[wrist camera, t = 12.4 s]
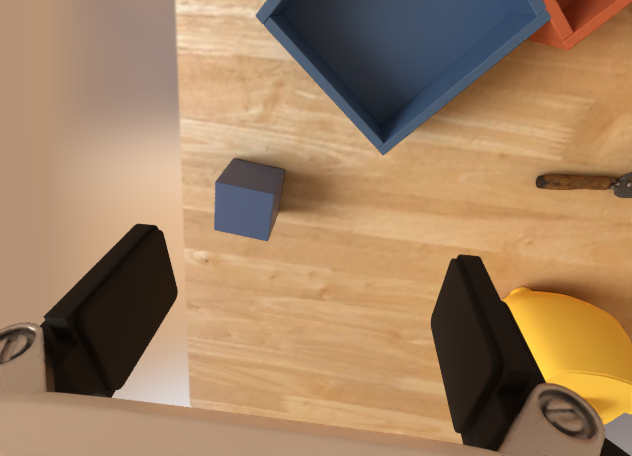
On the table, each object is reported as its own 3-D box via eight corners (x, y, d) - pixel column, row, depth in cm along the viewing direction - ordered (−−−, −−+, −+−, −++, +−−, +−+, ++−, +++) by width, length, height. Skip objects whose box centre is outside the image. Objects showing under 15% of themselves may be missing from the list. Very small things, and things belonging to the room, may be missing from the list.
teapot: (421, 330, 38) (440, 429, 30) (466, 257, 32) (508, 355, 23) (571, 364, 39) (633, 471, 30) (644, 299, 33) (749, 410, 24)
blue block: (233, 157, 29) (215, 181, 25) (285, 169, 29) (274, 194, 25) (230, 202, 32) (214, 230, 28) (278, 213, 32) (268, 241, 28)
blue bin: (271, 12, 23) (254, 15, 19) (410, -168, 18) (425, -213, 14) (379, 133, 27) (383, 155, 23) (519, 13, 21) (554, 17, 18)
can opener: (532, 184, 27) (538, 191, 27) (545, 157, 26) (552, 163, 25) (645, 199, 27) (656, 206, 26) (665, 172, 26) (677, 179, 25)
